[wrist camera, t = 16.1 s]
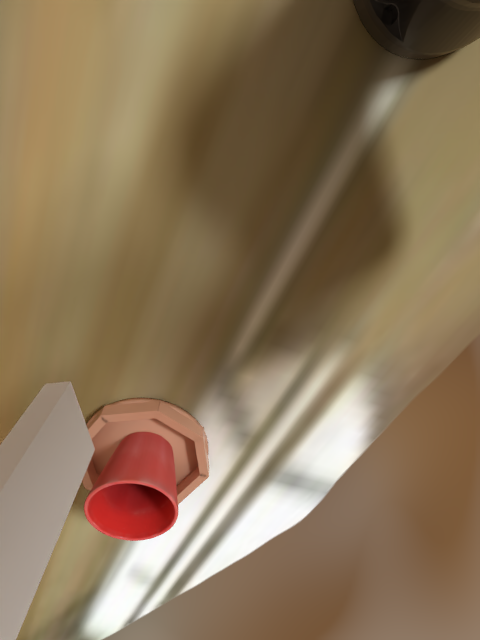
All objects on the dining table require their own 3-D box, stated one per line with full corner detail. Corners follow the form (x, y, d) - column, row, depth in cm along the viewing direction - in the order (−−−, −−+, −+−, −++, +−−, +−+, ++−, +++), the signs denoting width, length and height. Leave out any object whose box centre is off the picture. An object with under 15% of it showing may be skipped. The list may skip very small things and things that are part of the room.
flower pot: (163, 488, 56) (152, 552, 47) (94, 461, 53) (69, 525, 44) (198, 441, 52) (194, 501, 43) (126, 410, 49) (106, 468, 40)
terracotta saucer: (200, 392, 49) (199, 405, 47) (214, 486, 57) (213, 502, 55) (66, 404, 49) (57, 418, 47) (98, 497, 57) (92, 513, 54)
